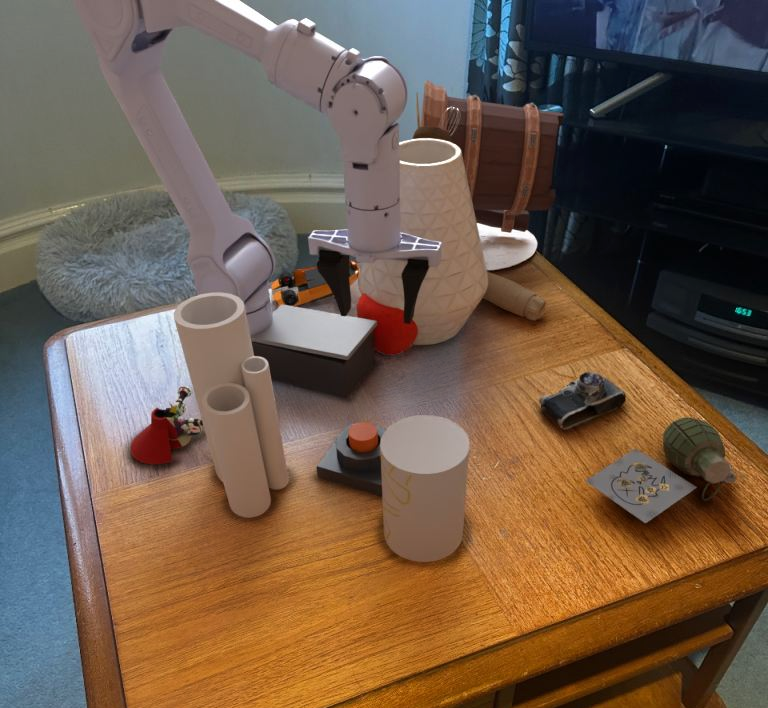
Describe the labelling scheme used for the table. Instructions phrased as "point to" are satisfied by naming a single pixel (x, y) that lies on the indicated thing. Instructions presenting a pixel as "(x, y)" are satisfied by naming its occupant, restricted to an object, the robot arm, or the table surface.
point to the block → (353, 464)
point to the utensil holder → (432, 129)
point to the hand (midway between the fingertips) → (377, 315)
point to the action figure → (165, 432)
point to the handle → (514, 297)
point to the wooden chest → (499, 154)
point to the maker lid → (315, 332)
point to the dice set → (640, 485)
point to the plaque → (505, 246)
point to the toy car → (306, 286)
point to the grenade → (697, 451)
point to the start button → (363, 437)
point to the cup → (424, 486)
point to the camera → (582, 400)
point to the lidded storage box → (318, 367)
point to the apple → (387, 326)
